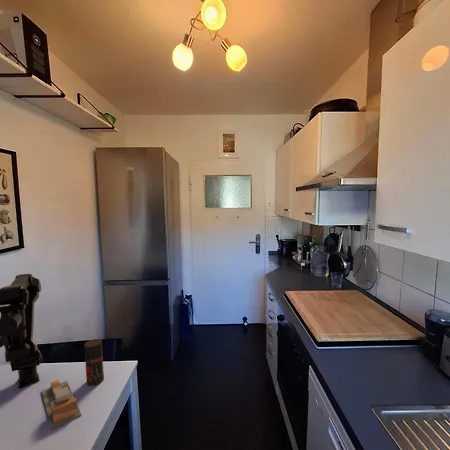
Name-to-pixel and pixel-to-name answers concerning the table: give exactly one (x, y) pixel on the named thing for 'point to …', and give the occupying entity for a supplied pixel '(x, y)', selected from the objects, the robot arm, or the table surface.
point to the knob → (61, 396)
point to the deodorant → (94, 362)
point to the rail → (61, 411)
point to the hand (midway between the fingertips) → (18, 368)
